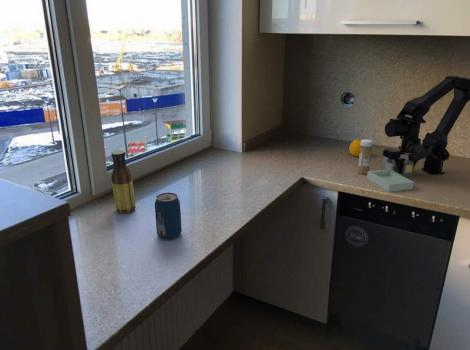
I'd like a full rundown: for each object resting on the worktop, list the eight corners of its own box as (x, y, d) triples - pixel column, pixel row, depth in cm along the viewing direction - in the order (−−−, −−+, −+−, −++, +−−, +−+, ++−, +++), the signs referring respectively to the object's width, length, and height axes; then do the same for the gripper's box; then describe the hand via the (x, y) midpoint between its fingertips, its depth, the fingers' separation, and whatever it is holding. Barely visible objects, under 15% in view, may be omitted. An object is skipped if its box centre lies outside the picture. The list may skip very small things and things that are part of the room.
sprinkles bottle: (367, 175, 158) (371, 142, 153) (356, 173, 160) (359, 141, 155) (370, 171, 162) (374, 139, 157) (358, 170, 164) (362, 138, 159)
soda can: (182, 229, 116) (180, 191, 112) (180, 241, 110) (178, 201, 106) (159, 229, 116) (156, 191, 112) (155, 241, 110) (152, 202, 105)
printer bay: (397, 166, 167) (399, 155, 166) (407, 172, 161) (409, 160, 160) (381, 168, 166) (383, 157, 164) (391, 173, 160) (393, 161, 158)
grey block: (398, 169, 164) (400, 156, 162) (411, 176, 157) (414, 162, 154) (390, 170, 163) (392, 156, 161) (402, 177, 156) (405, 163, 154)
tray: (389, 175, 157) (390, 169, 156) (412, 189, 145) (413, 182, 144) (366, 178, 155) (367, 171, 154) (388, 191, 142) (389, 184, 141)
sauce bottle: (128, 204, 132) (122, 147, 125) (139, 209, 129) (134, 150, 122) (111, 211, 128) (104, 151, 121) (123, 216, 124) (116, 155, 117)
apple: (345, 154, 184) (346, 138, 182) (358, 152, 187) (360, 136, 185) (356, 159, 177) (358, 142, 175) (370, 156, 180) (372, 140, 178)
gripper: (402, 142, 143) (396, 182, 148) (446, 138, 147) (439, 178, 152) (384, 134, 153) (379, 172, 158) (426, 131, 157) (419, 168, 162)
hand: (404, 173), depth 158 cm, fingers closed on grey block, 4 cm apart
